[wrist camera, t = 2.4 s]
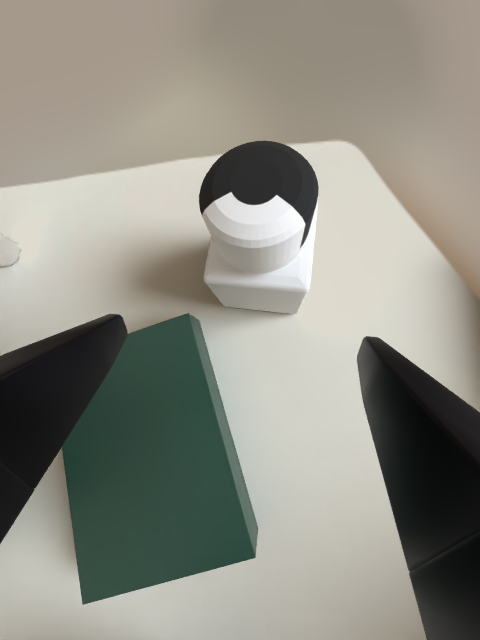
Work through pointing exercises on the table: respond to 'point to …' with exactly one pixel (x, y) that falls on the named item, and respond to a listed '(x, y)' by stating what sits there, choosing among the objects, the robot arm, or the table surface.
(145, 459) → the book
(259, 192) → the medicine bottle
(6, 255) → the milkshake
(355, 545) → the table surface
